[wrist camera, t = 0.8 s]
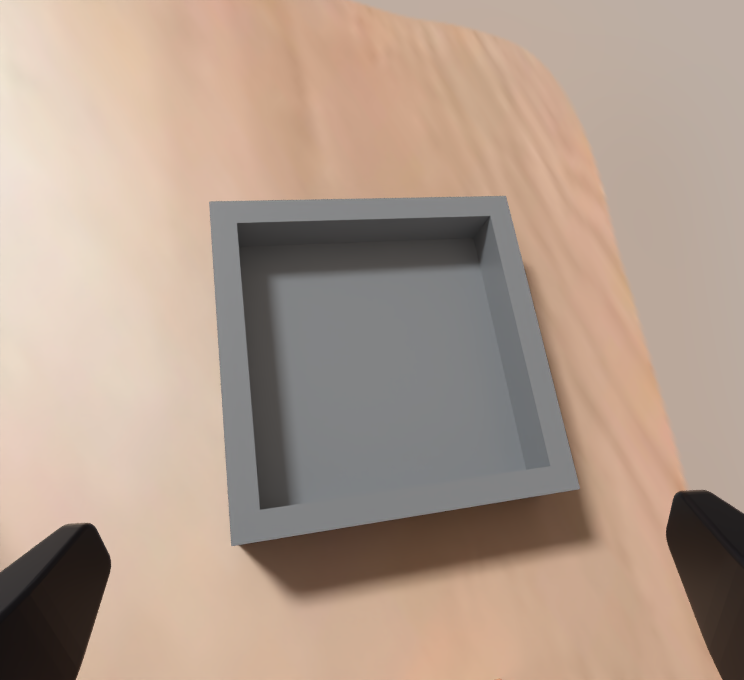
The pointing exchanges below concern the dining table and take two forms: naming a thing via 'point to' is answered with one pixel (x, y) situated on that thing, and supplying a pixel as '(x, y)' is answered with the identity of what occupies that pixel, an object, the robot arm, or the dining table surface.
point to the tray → (378, 363)
